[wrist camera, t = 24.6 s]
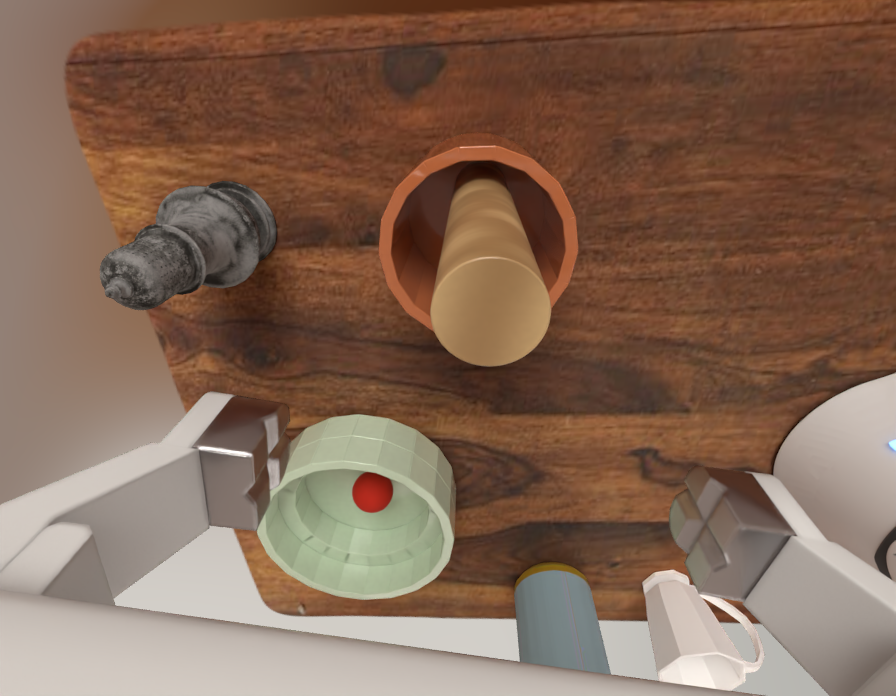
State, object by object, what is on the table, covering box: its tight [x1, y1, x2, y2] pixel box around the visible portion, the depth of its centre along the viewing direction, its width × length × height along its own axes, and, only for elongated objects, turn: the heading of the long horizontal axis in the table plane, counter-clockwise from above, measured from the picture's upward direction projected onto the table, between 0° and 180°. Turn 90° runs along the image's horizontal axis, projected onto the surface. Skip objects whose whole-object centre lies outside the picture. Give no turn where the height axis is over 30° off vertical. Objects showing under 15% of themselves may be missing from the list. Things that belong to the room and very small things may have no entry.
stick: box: [430, 161, 551, 366], centre depth 20 cm, size 3×3×18 cm
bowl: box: [257, 414, 456, 600], centre depth 37 cm, size 14×14×6 cm
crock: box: [378, 133, 578, 331], centre depth 26 cm, size 9×9×8 cm
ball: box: [352, 472, 393, 513], centre depth 37 cm, size 3×3×3 cm
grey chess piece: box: [100, 181, 277, 310], centre depth 25 cm, size 6×6×12 cm
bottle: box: [514, 562, 611, 674], centre depth 38 cm, size 7×7×15 cm
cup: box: [642, 570, 765, 691], centre depth 41 cm, size 7×10×8 cm
